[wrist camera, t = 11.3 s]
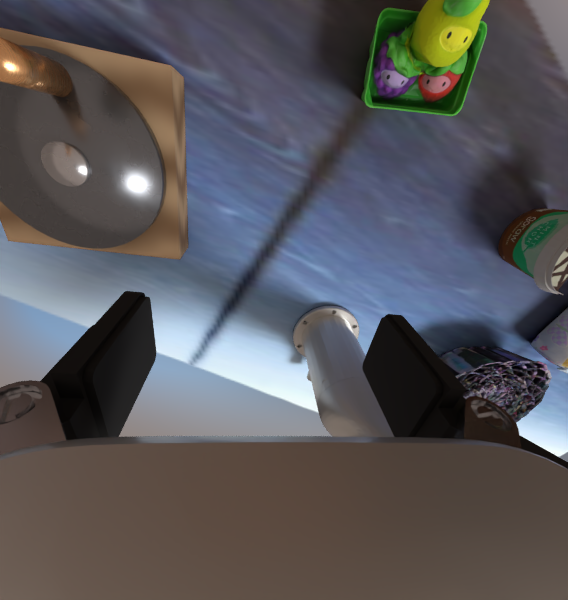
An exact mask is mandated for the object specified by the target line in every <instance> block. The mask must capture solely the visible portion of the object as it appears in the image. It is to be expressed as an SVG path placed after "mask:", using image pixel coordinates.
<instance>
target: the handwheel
mask: <svg viewBox="0 0 568 600" xmlns="http://www.w3.org/2000/svg"><path fill="white" fill-rule="evenodd" d="M166 184H167V183H166V170H165V164H164V159H163V156H162V153H161V149H160V147H159V144H158V142H157V139H156V137H155V135H154V133H153V131H152V129H151V127H150V126H149V124H148V122H147V121H146V119H145V118H144V116H143V115H142V113H141V112H140V110H139V109H138V108H137V107H136V105H135V104H134V103H133V102H132V101H131V99H130V98H129V97H128V96H127V95H126V94H125V93H124V92H123V91H122V90H121V89H120V88H119V87H118V86H116V85H115V84H114V83H113V82H111V81H110V80H109V79H108V78H107V77H105V76H104V75H102V74H101V73H99V72H98V71H96V70H95V69H93V68H91V67H89V66H87V65H85V64H83V63H82V62H80V61H78V60H76V59H73V58H71V57H69V56H67V55H65V54H62V53H59V52H57V51H54V50H51V49H46V48H42V47H37V46H26V45H17V44H15V43H13V42H10V41H8V40H6V39H4V38H1V37H0V201H1V202H2V203H3V204H4V205H5V206H6V207H7V208H8V209H9V210H10V211H12V212H13V213H14V214H15V215H16V216H18V217H19V218H20V219H21V220H23V221H24V222H25V223H27V224H28V225H30V226H31V227H33V228H34V229H36V230H38V231H40V232H41V233H43V234H45V235H47V236H49V237H51V238H54V239H56V240H58V241H61V242H64V243H67V244H70V245H74V246H79V247H84V248H93V249H104V248H112V247H117V246H120V245H124V244H126V243H128V242H131V241H132V240H134V239H136V238H137V237H139V236H140V235H141V234H143V233H144V232H145V231H146V230H147V229H149V228H150V227H151V225H152V224H153V223H154V222H155V221H156V219H157V217H158V216H159V214H160V212H161V209H162V207H163V204H164V200H165V195H166Z"/></svg>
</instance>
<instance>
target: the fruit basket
mask: <svg viewBox="0 0 568 600" xmlns="http://www.w3.org/2000/svg"><path fill="white" fill-rule="evenodd" d="M489 1H490V0H428V1H427V2H426V4H425V5H424V7H423V8H422V10H421V11H420V12H417V11H410V10H403V9H396V8H386V9H384V10H383V11H382V12H381V13H380V15H379V17H378V20H377V24H376V28H375V33H374V37H373V40H372V42H371V45H370V50H369V53H370V58H369V60H368V63H367V67H366V73H365V79H364V91H363V93H362V96H361V100H362V101H363V102H365V104H366V105H367V106H368V107H371V108H383V109H393V110H401V111H411V112H419V113H430V114H439V115H447V116H454V115H456V114H457V113H458V112H460V110H461V108H462V106H463V104H464V101H465V97H466V94H467V91H468V88H469V85H470V82H471V79H472V76H473V73H474V70H475V67H476V64H477V61H478V58H479V55H480V52H481V49H482V47H483V43H484V40H485V38H486V34H487V25H486V23H485V22H484V21H480V20H481V18H482V16H483V14H484V12H485V10H486V8H487V6H488V4H489Z"/></svg>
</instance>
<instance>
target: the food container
mask: <svg viewBox="0 0 568 600" xmlns="http://www.w3.org/2000/svg"><path fill="white" fill-rule="evenodd" d="M498 250H499V255H500V256H501V258H502V259H503V260H504V261H506V262H508V263H509V264H511V265H512V266H514V267H516V268H517V269H519V270H521V271H522V272H524V273H525V274H527V275H529V276H530V277H532V278H533V279H534V281H535V283H536V285H537V286H538V287H539V288H540V289H542V290H544V291H547V292H551V293H554V294H558V293H559V294H562V293H560V292H559V291H558V290H559V288H560V287H562V285H563V284H564V282H565V281H566V280H567V279H568V211H567V210H556V209H545V208H540V209H533V210H531V211H528V212H526V213H523V214H522V215H520V216H519V217H518V218H516V219H515V220H514V221H513V222H512V223H511V224H510V225H509V226H508V227H507V228H506V229H505V231H504V233H503V234H502V236H501V238H500V241H499V246H498ZM562 295H563V294H562Z"/></svg>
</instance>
